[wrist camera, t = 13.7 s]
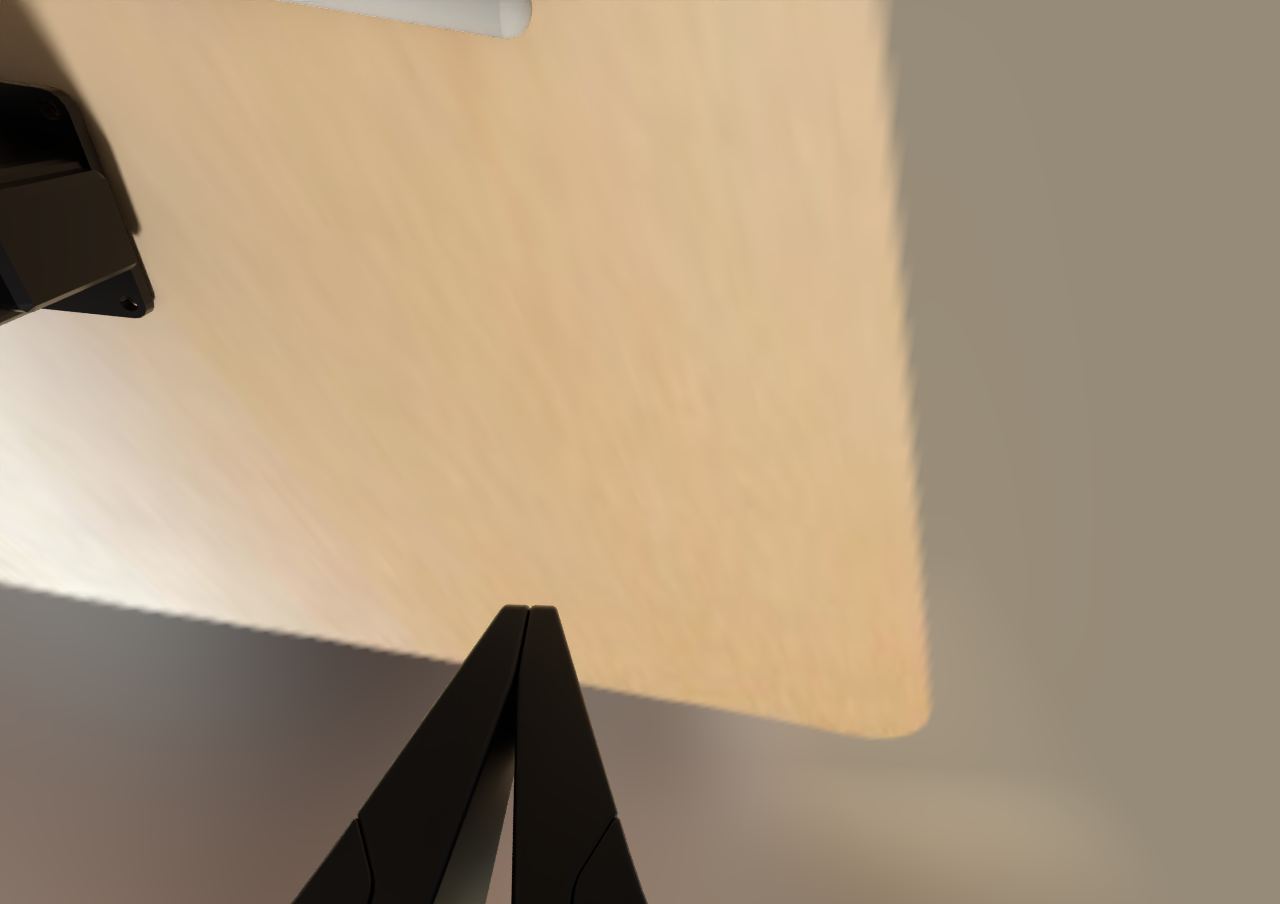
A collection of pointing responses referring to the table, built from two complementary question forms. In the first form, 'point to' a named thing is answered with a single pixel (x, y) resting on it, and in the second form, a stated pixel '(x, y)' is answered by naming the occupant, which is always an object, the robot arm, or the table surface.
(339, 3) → the grey double capsule
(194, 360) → the table surface
